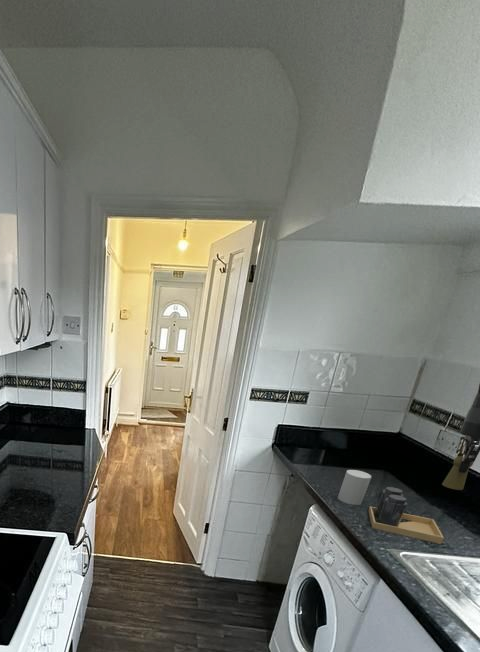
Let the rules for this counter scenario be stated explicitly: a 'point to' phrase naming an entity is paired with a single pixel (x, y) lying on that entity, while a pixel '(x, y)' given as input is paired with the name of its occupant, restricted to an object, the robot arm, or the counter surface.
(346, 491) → the white upright cylinder
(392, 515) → the shaker
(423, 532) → the tray
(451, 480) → the cork
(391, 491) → the shaker
